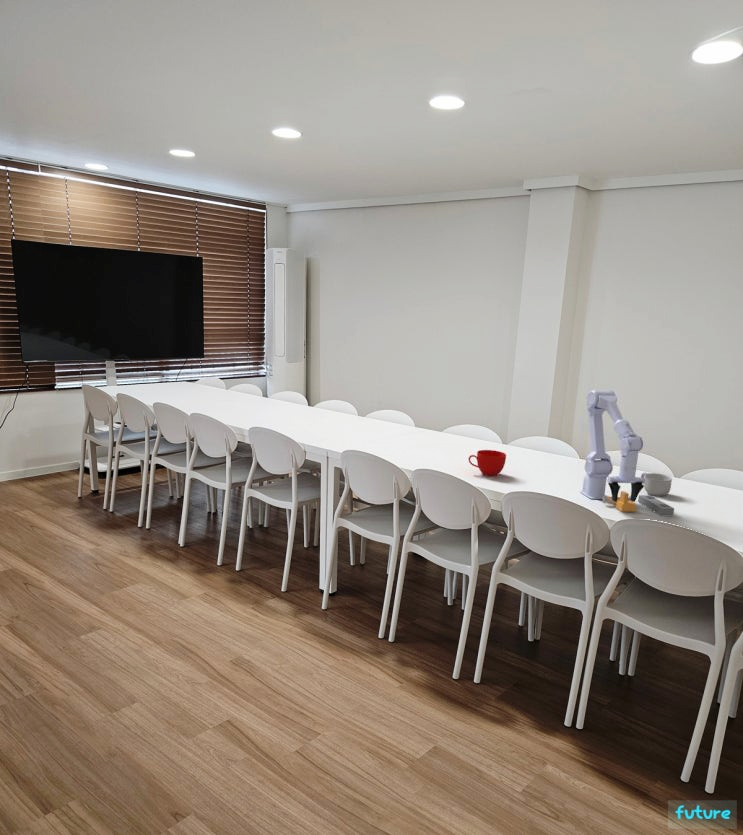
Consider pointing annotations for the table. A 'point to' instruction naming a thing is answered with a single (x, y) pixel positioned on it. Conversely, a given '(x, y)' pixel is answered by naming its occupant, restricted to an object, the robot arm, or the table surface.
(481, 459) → the ceramic cup
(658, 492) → the teacup
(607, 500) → the clip
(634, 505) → the plug
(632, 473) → the robot arm
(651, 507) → the power strip
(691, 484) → the table surface
